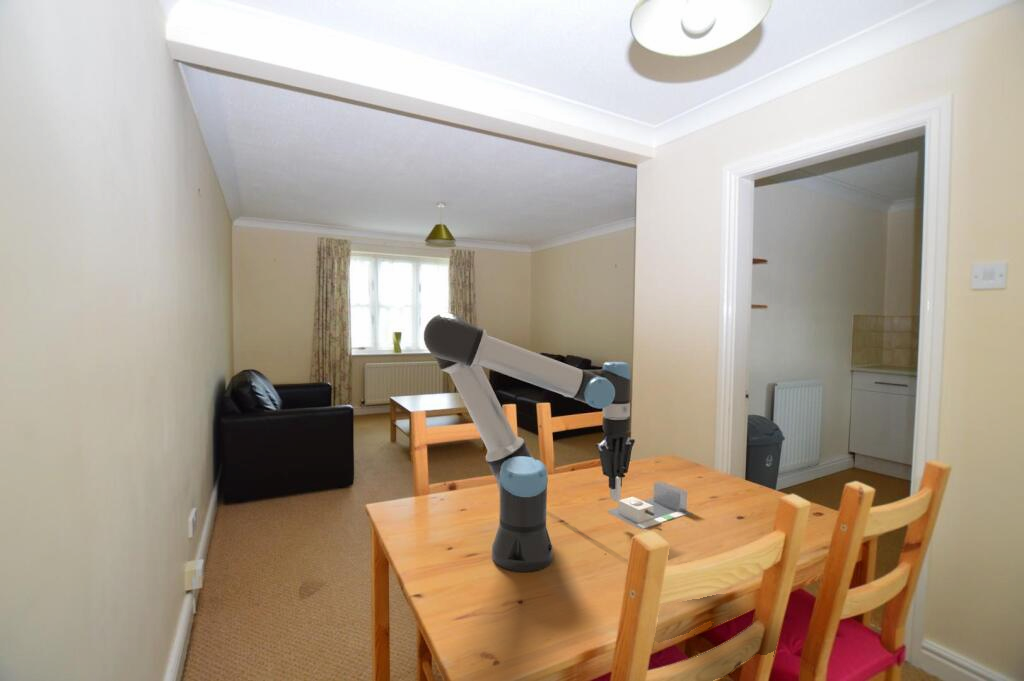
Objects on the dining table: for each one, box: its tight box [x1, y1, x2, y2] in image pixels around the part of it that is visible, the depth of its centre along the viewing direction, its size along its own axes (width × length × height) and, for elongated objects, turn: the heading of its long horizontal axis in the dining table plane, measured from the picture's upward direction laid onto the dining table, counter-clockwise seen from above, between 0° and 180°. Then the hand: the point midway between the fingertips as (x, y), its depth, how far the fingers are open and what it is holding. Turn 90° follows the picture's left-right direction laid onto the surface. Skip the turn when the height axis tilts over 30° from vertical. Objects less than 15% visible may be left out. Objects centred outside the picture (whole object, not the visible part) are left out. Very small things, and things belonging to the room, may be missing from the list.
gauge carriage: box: [617, 496, 654, 524], centre depth 136 cm, size 6×11×4 cm, turn 32°
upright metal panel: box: [653, 481, 688, 512], centre depth 145 cm, size 3×10×6 cm, turn 32°
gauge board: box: [606, 497, 693, 530], centre depth 141 cm, size 22×14×2 cm, turn 122°
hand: (615, 499), depth 132 cm, fingers closed
